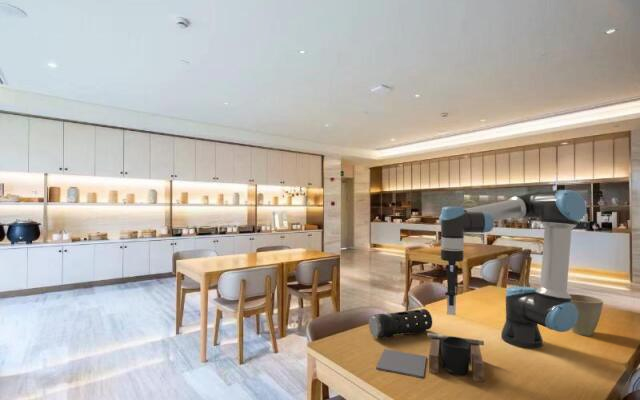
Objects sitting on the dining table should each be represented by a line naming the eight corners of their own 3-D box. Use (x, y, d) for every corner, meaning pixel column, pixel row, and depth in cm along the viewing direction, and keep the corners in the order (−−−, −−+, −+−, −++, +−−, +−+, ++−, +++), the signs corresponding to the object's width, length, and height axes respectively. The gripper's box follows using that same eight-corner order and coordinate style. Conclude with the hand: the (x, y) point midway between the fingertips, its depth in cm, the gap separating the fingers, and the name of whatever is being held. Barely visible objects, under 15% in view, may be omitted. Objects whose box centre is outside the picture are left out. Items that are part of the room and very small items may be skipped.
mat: (426, 357, 125) (426, 356, 125) (423, 378, 111) (423, 376, 111) (384, 350, 131) (384, 348, 131) (376, 369, 116) (376, 367, 116)
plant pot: (604, 332, 152) (603, 298, 152) (602, 342, 141) (602, 305, 142) (564, 324, 162) (564, 291, 163) (559, 332, 152) (559, 298, 152)
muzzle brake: (433, 335, 148) (433, 311, 148) (379, 344, 138) (379, 319, 138) (419, 327, 157) (419, 305, 157) (367, 335, 147) (367, 312, 147)
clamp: (483, 360, 124) (483, 340, 124) (488, 383, 108) (488, 359, 108) (427, 351, 131) (427, 332, 131) (424, 371, 115) (424, 349, 115)
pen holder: (437, 363, 121) (437, 336, 121) (463, 364, 121) (463, 336, 121) (446, 376, 112) (446, 347, 112) (474, 377, 111) (474, 347, 112)
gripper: (442, 245, 131) (442, 298, 131) (439, 253, 108) (438, 318, 108) (462, 246, 128) (462, 300, 128) (464, 254, 105) (463, 321, 105)
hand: (451, 308), depth 118 cm, fingers open, 13 cm apart
